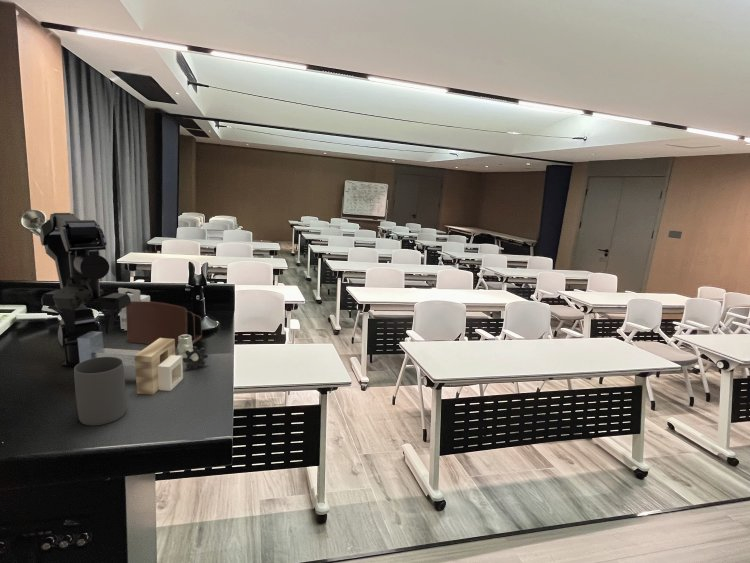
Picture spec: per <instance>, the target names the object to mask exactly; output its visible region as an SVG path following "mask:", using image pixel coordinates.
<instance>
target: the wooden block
mask: <svg viewBox="0 0 750 563" xmlns="http://www.w3.org/2000/svg"><path fill="white" fill-rule="evenodd" d="M139 351H140V352H139V353H137V354H136V355H135V366H134V369H135V381H136V394H140V395H151V396H153V395H155V394H156V393H157V392H158V391H160V390H159V387H158V368H157V366H158V365H159V364H161V363H162V362H163V361H164V360H165V359H167V358H168V357H169V356H170V355H176V347H175V339H168V338H159V339H157V340H156V341H155V342H153V343H152V344H150V345H149V344H148V345H147V346H145V347H144V348H143V349H142V350H139Z"/></svg>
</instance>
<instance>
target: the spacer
mask: <svg viewBox="0 0 750 563" xmlns="http://www.w3.org/2000/svg"><path fill="white" fill-rule="evenodd" d="M183 364H184V362H183V361H182V356H179V355H176V354H175V355H170V356H169V357H168V358H167V359H165V360H164V361H163V362H162V363H161V364H159V365H158V366H157V368H158V387H159V390H158V391H167V392H170V391H173V389H174V388H175V387H176V386H177V385H178V384H179V383H180V382H181V381H182V380H183V379H184V371H183V370H184V369H183V368H184V367H183Z"/></svg>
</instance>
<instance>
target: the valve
mask: <svg viewBox="0 0 750 563" xmlns="http://www.w3.org/2000/svg"><path fill="white" fill-rule="evenodd" d="M178 342H179V343H178V346H177V347H176V349H177V351H178V356H182V363H186V364H185V368H186V369H190V368H191V367H192V369H194V370H198V369H199V365H201V366H205V365H206V362H205V361H204V359H208V357H209V356H208V354H207V353H204V352H206V349H205V348H204V347H200V349H198V347H197V346H193V345H194V344H192V337H191V335H187V334H185V335H180V336H178ZM199 355H200V359H199ZM190 359H191V360H192V362H191V361H190ZM198 360H199V361H198Z"/></svg>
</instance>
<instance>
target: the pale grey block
mask: <svg viewBox="0 0 750 563" xmlns="http://www.w3.org/2000/svg"><path fill="white" fill-rule="evenodd" d="M103 335H104V333H103V331H99V332H95V331H90V332H88V333H86V334H84V335H83V336H81V337H79V338H78V349H79V359H80V363H81V362H83V361H86V360H89V359H93V358H98V357H116V358H119V359H121V360H122V361H123V367H124V366H125V367H135V355H136V354H137V353H139V352H140V351H141V350H137V349H136V350H135V349H121V348H106V347H104V336H103Z"/></svg>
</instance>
